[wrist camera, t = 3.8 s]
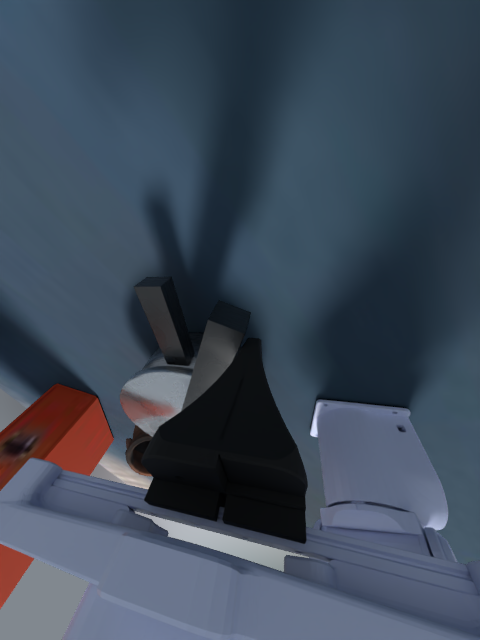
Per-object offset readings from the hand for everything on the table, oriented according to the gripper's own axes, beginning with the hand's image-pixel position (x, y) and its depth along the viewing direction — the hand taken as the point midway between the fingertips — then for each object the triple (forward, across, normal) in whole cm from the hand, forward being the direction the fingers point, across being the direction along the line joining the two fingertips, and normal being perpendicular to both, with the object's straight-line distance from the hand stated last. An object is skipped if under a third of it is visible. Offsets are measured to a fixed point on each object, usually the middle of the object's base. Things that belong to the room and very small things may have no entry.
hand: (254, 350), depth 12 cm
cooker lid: (+1, +6, +8) cm, 10 cm away
